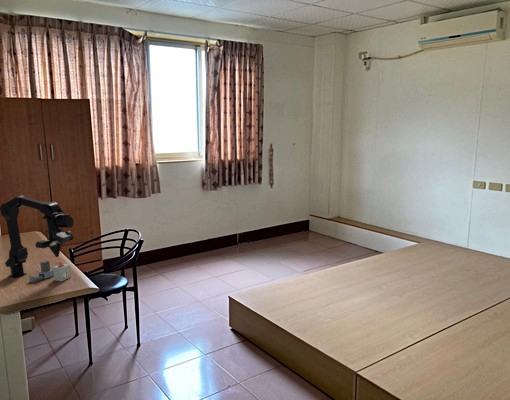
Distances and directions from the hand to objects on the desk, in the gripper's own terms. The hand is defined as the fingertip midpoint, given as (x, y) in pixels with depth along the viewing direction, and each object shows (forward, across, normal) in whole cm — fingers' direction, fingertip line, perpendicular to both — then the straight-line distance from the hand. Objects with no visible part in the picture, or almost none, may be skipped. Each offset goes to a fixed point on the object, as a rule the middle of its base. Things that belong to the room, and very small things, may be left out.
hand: (57, 256), depth 223 cm
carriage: (+11, -1, +9) cm, 14 cm away
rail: (+11, -3, +9) cm, 15 cm away
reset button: (+6, 0, -2) cm, 7 cm away
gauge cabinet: (+12, 0, -2) cm, 12 cm away
